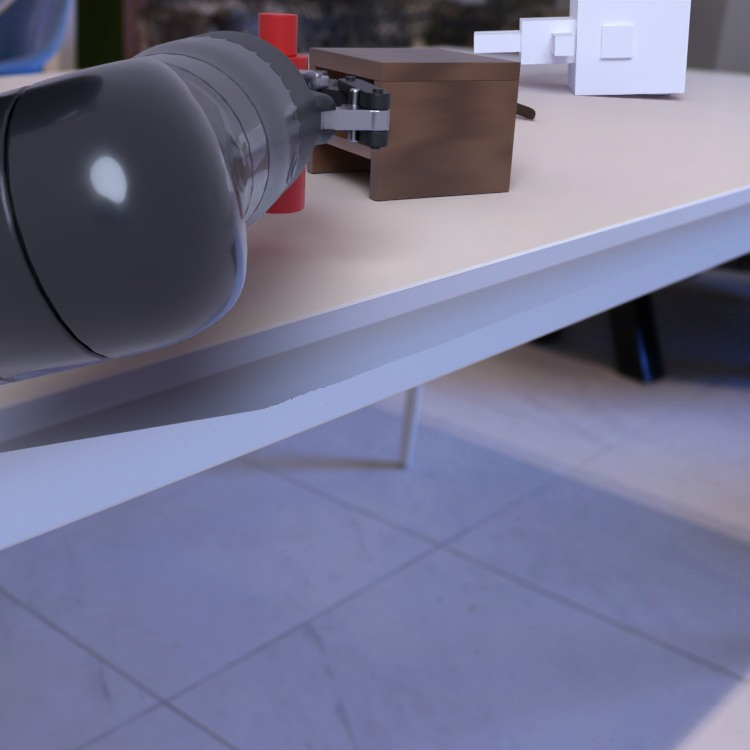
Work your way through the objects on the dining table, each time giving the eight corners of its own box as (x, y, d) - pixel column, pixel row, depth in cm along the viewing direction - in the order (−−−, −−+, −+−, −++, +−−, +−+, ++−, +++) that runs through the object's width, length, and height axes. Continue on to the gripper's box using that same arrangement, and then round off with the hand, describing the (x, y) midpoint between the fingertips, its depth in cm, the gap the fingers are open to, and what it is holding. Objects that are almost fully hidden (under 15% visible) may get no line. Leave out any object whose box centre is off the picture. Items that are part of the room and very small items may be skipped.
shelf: (376, 201, 71) (382, 62, 68) (306, 171, 80) (309, 47, 77) (509, 191, 76) (521, 62, 73) (429, 164, 85) (437, 48, 82)
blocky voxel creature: (475, 88, 157) (666, 83, 155) (473, 108, 134) (698, 104, 131) (475, -17, 152) (673, -24, 149) (473, -15, 129) (707, -23, 126)
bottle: (259, 215, 55) (261, 15, 52) (236, 202, 58) (237, 11, 54) (314, 211, 57) (320, 16, 53) (289, 199, 59) (293, 12, 56)
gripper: (387, 48, 40) (419, 23, 56) (28, 26, 41) (160, 8, 57) (377, 241, 43) (410, 165, 59) (41, 215, 44) (163, 148, 60)
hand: (286, 88), depth 58 cm, fingers closed on bottle, 3 cm apart
